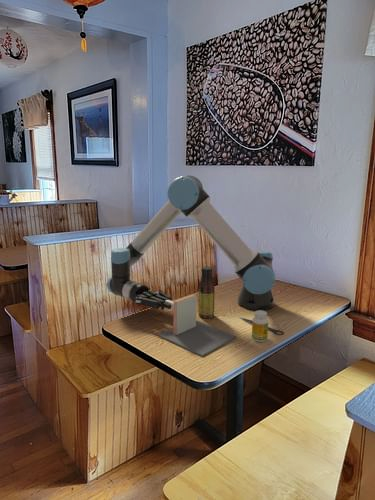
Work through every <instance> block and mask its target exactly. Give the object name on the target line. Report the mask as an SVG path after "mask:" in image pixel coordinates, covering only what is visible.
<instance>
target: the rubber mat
mask: <svg viewBox="0 0 375 500" xmlns="http://www.w3.org/2000/svg"><path fill="white" fill-rule="evenodd" d="M158 337H159V338H161V339H163V340H165V341H168V342H170V343H172V344H173V345H177V346H179V348H180V347H181V348H182V349H185V350H187V351H189V352H191V353H194V354H196V355H198V356H200V357H202V358H203V357H205V356H206V355H208V354H210V353H213V352H214V351H215V350H218V349H219V348H221V347H223V346H225V345H226V344H228V343H230V342H232V341H233V340H236V339H237V337H238V336H237V335H234V334H232V333H229V332H227V331H224V330H222V329H220V328H216V327H214V326H211V325H209V324H206V323H204V322H201V321H198V320H196V326H195V327H193V328H191V329H189V330H187V331H185V332H182V333H180V334H178V335H175V334H173V328H171V329H168V330H165V331H164V332H161V333H158Z"/></svg>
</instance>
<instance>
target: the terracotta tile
mask: <svg viewBox="0 0 375 500" xmlns="http://www.w3.org/2000/svg"><path fill="white" fill-rule="evenodd" d="M173 302H174V303H173V315H172V316H173V320H172V321H173V322H172V323H173V325H172V327H173V328H172V329H173V334H175V335H178V334H180V333H182V332H185V331H187V330H189V329H191V328H193V327H195V326H196V321H197V294H194V293H192V294H190V295H187V296H184V297H181V298H177V299H175V300H173Z"/></svg>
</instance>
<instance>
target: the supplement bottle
mask: <svg viewBox="0 0 375 500" xmlns="http://www.w3.org/2000/svg"><path fill="white" fill-rule="evenodd" d="M254 311H255V312H254V317H252V325H251V326H252V327H251V339H252V340H253V341H255V342H258V343H263V342H264V343H265V342H266V341H267V340H268V336H269V335H268V334H269V330H268V327H269V318H267V317H268V313H267V311H266V310H254Z"/></svg>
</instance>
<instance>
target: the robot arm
mask: <svg viewBox="0 0 375 500" xmlns="http://www.w3.org/2000/svg"><path fill="white" fill-rule="evenodd" d="M167 198H168V200H167V201H166V202H165V204H164V205H163V206H162V207H161V208H160V209H159V210H158V211H157V213H156V214H155V215H154V216H153V217H152V218H151V220H149V222H148V223H147V224H146V225H145V226H144V227H143V228H142V230H140V231H139V233H137V236H135V238H133V240H132V241H131V242H130V243H129V244H128V245H127V246H126V247H125V248H124V247H117V248H114V249H112V250H111V252H110V253H111V255H110V266H111V276H110V277H109V278H108V280H107V282H106V287H107V290H108V291H109V292H110V293H112V294H114V295H115V296H119V297H122V298H124V299H126V300H129V301H131V302H134V303H135V305H137V306H138V305H139V306H145V307H149V308H154V309H157V310H158V309H160V310H162V311H164V310H165V309H168V310H170V311H173V303H174V300H173V299H172V297H173V296H170V295H168V294H167V293H165V292H164V291H163V290H161V289H159V290H158V291H154V290H152V289H151V290H150V288H149V287H148V286H147V285H146V284H142V283H140V282H137V281H133V280H131V268H132V266H134V265H135V264H136V263H137V262H140V260H141V259H142V257H143V256H144V255H145V253H146V252H147V251H148V250H149V249H150V248H151V247H152V246H153V244H154V243H155V242H156V241H157V240H158V239H159V238H160V237H161V236H162V235H163V234H164V233H165V232H166V231H167V229H168V228H169V227H170V226H171V225H172V224H173V223H174V222H175V221H176V219H178V217H179V216H180V215H181V214H182V213H183V215H184V216H185V217H186V219H187V218H189V219H190V218H191V219H193V220H194V221H195V222H196V224H197V225H198V226H199V227H200V228H201V230H203V232H204V233H205V234H206V235H207V236H208V237H209V238H210V239H211V241H212V242H213V243H214V244H215V246H217V247H218V249H219V250H220V251H221V252H222V253H223V254H224V256H226V258H227V259H228V260H229V261H230V262H231V263H232V265H233V272H234V274H236V275H237V277H238V278H239V279H241V281H242V286H241V289H240V291H239V294H238V296H237V304H238V305H239V306H240V307H242V308H244V309H248V310H252V311H253V310H254V311H258V310H262V311H266V310H270V309H271V308H273V307H274V305H275V300H274V296H273V291H272V288H273V287H274V285H275V281H276V273H275V271H274V269H273V259H274V258H273V253H272V252H270V251H265V250H252V249H251V248H250V247H249V246H248V245H247V244H246V243H245V242H244V240H242V238H241V237H240V236H239V235H238V233H237V232H236V231H235V230H234V229H233V228H232V227H231V225H230V224H229V223H228V222H227V221H226V220H225V218H223V216H222V215H221V214H220V213H219V212H218V210H216V208H215V207H214V206H213V205H212V203H211V196H210V195H209V194H208V193H207V191H205V190H204V187H203V183H202V182H201V180H200V179H199V178H197V177H196V176H193V175H181V176H177V177H176V178H175V179H173V180H171V182H170V184H169V186H168V189H167Z"/></svg>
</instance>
